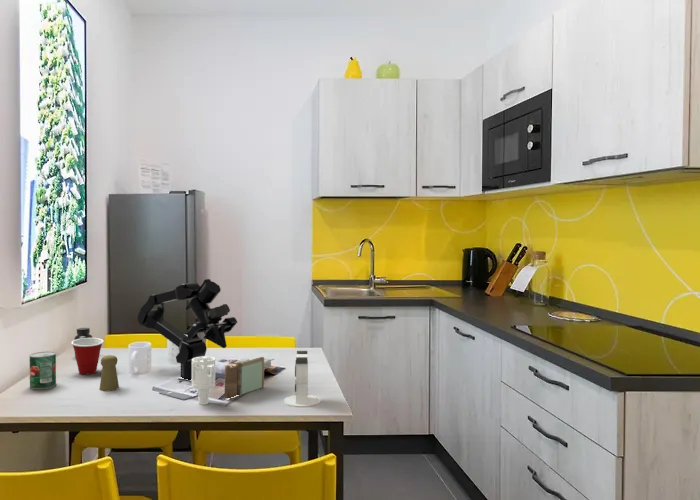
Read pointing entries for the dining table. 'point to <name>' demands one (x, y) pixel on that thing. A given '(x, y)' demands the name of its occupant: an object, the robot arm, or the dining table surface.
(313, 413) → the dining table surface
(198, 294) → the robot arm
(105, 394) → the dining table surface
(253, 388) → the folding section
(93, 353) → the plastic cup
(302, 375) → the white stand
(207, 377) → the white stepped cylinder
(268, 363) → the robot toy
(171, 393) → the card
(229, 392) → the fence fixed
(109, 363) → the cork
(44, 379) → the canned tomato
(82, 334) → the supplement bottle
